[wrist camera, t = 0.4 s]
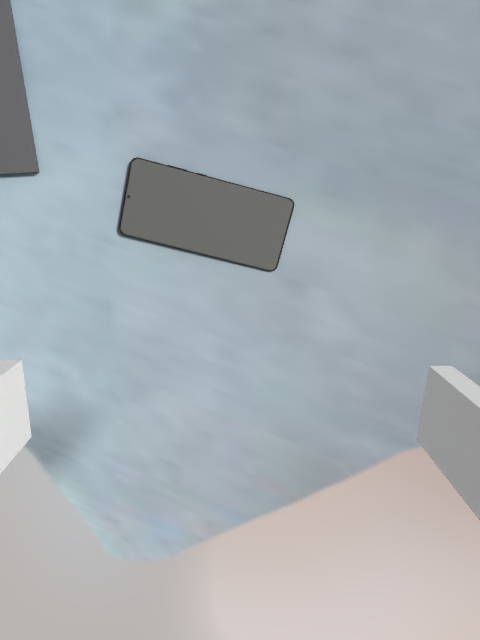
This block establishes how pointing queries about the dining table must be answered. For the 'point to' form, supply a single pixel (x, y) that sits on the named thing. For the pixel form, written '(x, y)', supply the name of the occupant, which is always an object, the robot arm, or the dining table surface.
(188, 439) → the dining table surface
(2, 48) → the mat
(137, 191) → the smartphone
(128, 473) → the dining table surface
